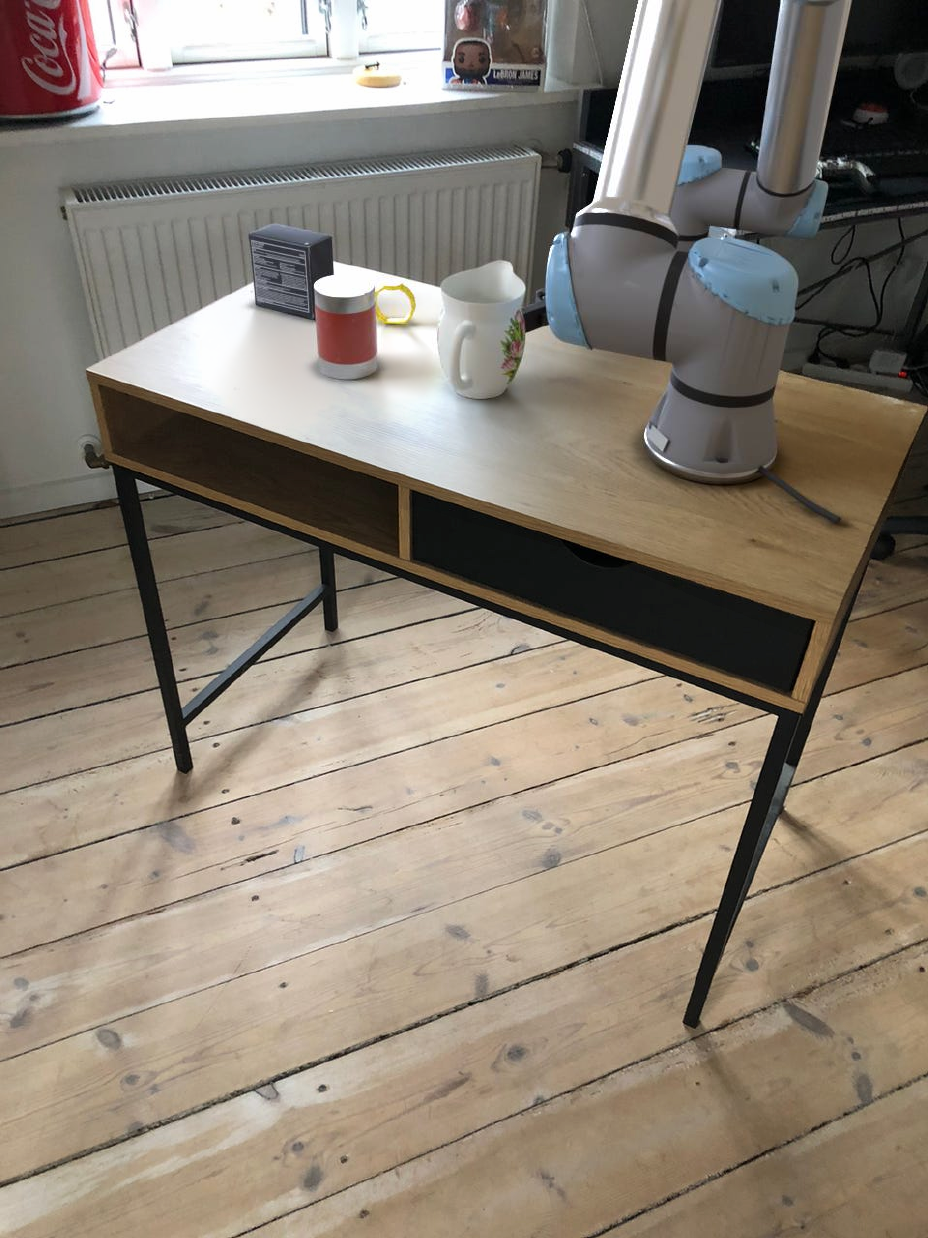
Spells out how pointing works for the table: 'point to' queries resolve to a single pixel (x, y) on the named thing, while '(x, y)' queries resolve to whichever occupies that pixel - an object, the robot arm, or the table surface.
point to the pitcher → (482, 329)
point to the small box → (289, 267)
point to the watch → (395, 285)
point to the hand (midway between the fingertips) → (515, 323)
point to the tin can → (346, 326)
